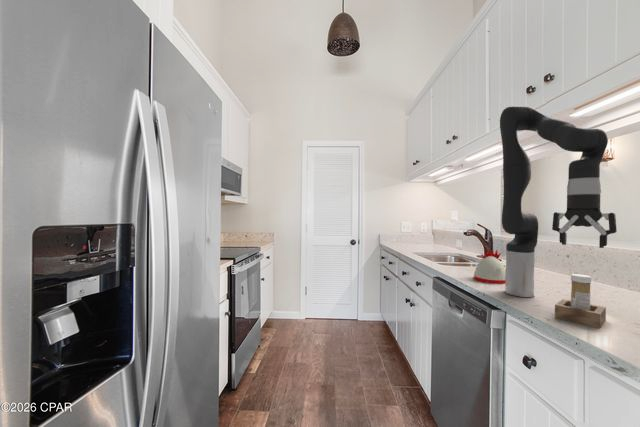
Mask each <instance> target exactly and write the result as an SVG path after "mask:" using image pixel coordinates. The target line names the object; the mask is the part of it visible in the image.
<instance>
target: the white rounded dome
mask: <svg viewBox="0 0 640 427" xmlns="http://www.w3.org/2000/svg"><path fill="white" fill-rule="evenodd" d="M498 252H499V251H498V250H495V253H494V249H491V251H490V249H488V250H487V251H484V254H483V253H481V256H482V258H481V260H479V262H478V263H477V265H476V267H475V270H474V274H473V279H474V280H475V281H477V282H480V283H481V282H482V283H487V284H494V285H495V284H496V285H500V284H501V285H503V284H504V285H505V275H506V265H504V264H503V262H501V261H500V260H499V258H500V257H501V252H500V253H498Z"/></svg>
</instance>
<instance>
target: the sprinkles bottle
mask: <svg viewBox="0 0 640 427" xmlns="http://www.w3.org/2000/svg"><path fill="white" fill-rule="evenodd" d="M570 281H571V288H570V289H571V292H570V300H571V307H574V308H579V309H584V310H589V311H590V304H591V284H592V276H590V275H586V274H581V273H572V274H570Z"/></svg>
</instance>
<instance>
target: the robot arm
mask: <svg viewBox="0 0 640 427" xmlns="http://www.w3.org/2000/svg"><path fill="white" fill-rule="evenodd" d="M499 128H500V129H499V130H500V135H501V144H502V146H501V147H502V179H503V201H502V202H503V203H502V210H501V211H502V212H501V227H502V229H503V231H504V232H505V233H507V234H509V235H514V237H513V239H512V240H511V241H509V242H507V243H506V245H505V246H506V247H505V248H506V249H505V250H506V251H505V252H506V253H505V271H506V275H505V284H504V285H505V286H504V288H505V293H506V294H508V295H511V296H515V297H521V298H534V297H535V250H536V247H537V245H538V238H539V221H538V217H537V215H535V213H533V212H531V211H524V210H523V211H522V199H523V195H524V193H525V191H526V189H527V187H528V185H529V184H530V182H531V178H532V164H531V163H532V161H531V158H530V157H529V155H528V153H527V152H526V150H525V148H523V146H522V145H521V143H520V141H519V138H518V137H519V136H518V132H519V131H521V132H522V131H530V132H531V131H532V132H535V133H537V134H538V136H539V137H540V138H541V139H544V140H547V141H548V142H550V143H551V142H552V143H554V144H556V145H557V146H559V148H561V149H563V150H565V151H568V152H572V153H573V152H575V153H581V156H580V159H575V160H573V161H571V162H570V163H569V165H568V174H567V175H568V178H567V180H568V181H567V186H566V211H565V212H559V211H557V212H553V217H552V227H551V228H552V231H553V232H554V231H555V232H558V233H559V243H561V245H562V246H566V245H567V234H568V233H567V231H569V229H570V228H572V227H573V226H574V227H584V228H585V227H586V228H588V227H589V228H591V227H593V228H594V229H595V230H596V231H597V232H598V233H599V234H600V235H599V245H598V246H599V248H600V249H604V247H607V245H608V236H609V235H611V234H616V233H617V218H616V213H614V212H610V213H606V212H605V213H602V211H601V193H602V189H601V180H600V174H601V172H600V171H601V162H602V160H603V158H604V155H605V152H606V149H607V146H608V143H609V141H608V140H609V138H608V135H607V133H606V131H605V130H603V129H601V128H583V127H577V126H576V125H575V124H573V123H571V122H568V121H566V120H565V121H563V120H560V119H556V118H553V117H549V116H547V115H545V114H543V113H541V112H539V111H538V110H536V109H534V108H532V107H529V106H507V107H505V108H504V109H503V111H502V112H501V114H500V118H499ZM563 218H566V219H567V222H566V223H565V224H563V226H562V227H560V220H562V219H563ZM603 218H604V219H605V221H608V229H607V230H606V229H605V228H604V227H603V226H602V225H601V224H600V223H599V221H600V220H601V219H603Z"/></svg>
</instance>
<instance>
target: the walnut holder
mask: <svg viewBox="0 0 640 427" xmlns="http://www.w3.org/2000/svg"><path fill="white" fill-rule="evenodd" d="M554 318H555V319H559V320H563V321H566V322H567V321H568V322H571V323H576V324H580V325H584V326H589V327H592V328H597V329H601V328H602V326H603V325H604V324H605V322H606V320H607V307H606V306H601V305H596V304H591V303H590V311H589V310H584V309H579V308H574V307H571V299H564V298H563V299H561V300H560V301H558V302H557V303H555V304H554Z"/></svg>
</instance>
